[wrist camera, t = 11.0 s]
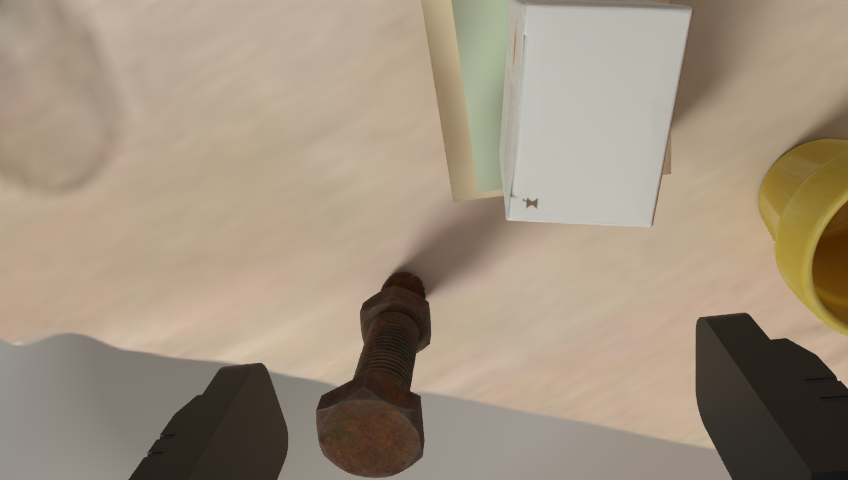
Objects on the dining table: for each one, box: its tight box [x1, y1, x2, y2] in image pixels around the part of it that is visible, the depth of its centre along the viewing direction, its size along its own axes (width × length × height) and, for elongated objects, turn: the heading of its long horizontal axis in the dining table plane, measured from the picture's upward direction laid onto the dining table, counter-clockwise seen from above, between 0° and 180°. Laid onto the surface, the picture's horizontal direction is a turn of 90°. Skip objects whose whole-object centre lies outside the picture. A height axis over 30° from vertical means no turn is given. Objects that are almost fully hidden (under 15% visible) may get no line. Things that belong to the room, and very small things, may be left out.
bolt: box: [316, 272, 431, 478], centre depth 35 cm, size 6×5×15 cm
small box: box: [499, 0, 694, 227], centre depth 25 cm, size 8×6×10 cm
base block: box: [421, 0, 671, 202], centre depth 32 cm, size 12×12×5 cm
